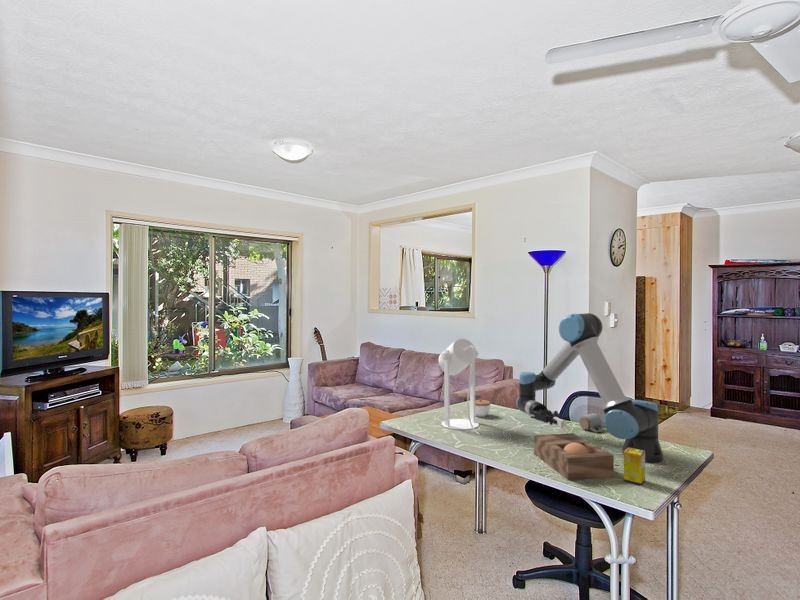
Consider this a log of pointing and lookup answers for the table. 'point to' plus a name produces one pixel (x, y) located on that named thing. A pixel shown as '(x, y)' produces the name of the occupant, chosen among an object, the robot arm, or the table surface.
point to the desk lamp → (452, 364)
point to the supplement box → (634, 466)
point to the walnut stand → (573, 457)
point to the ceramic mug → (591, 422)
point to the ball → (576, 449)
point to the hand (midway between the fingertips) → (562, 424)
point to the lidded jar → (482, 407)
